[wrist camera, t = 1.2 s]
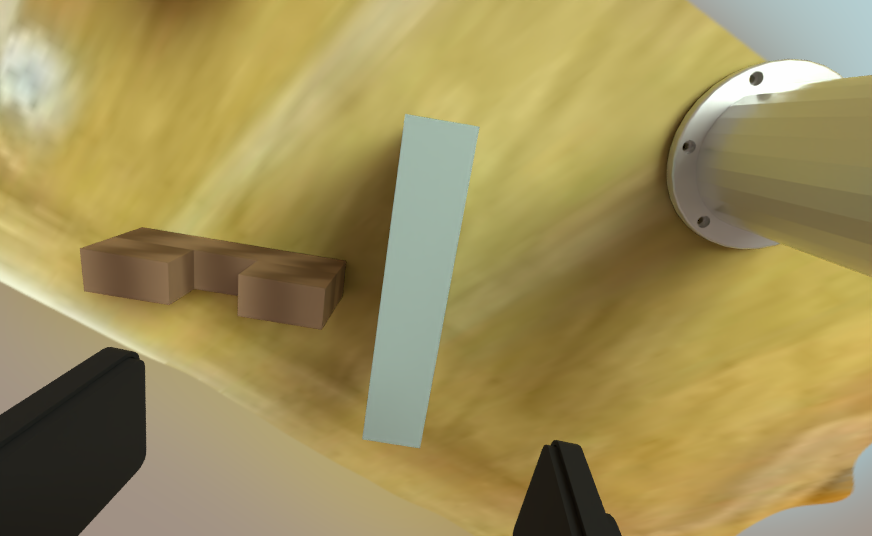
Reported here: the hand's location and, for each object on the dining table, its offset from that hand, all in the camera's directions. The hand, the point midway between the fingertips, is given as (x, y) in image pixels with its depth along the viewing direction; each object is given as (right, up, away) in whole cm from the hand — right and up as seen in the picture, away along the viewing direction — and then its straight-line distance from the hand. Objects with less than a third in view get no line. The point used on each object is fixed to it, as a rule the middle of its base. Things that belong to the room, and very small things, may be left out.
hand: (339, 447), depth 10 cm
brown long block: (-13, +5, +24) cm, 28 cm away
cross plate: (+2, +7, +23) cm, 24 cm away
